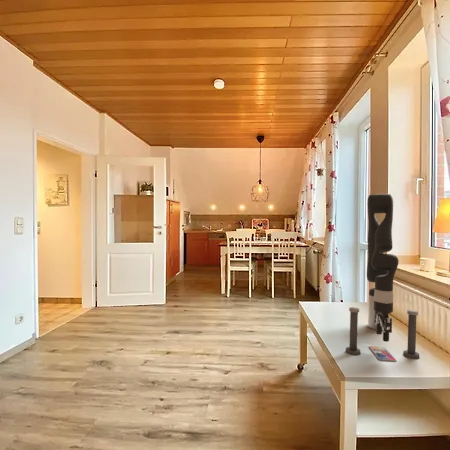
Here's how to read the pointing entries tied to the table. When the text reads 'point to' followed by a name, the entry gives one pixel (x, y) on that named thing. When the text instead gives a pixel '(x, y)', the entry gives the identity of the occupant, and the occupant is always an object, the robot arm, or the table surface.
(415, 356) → the post
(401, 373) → the table surface
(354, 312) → the knob
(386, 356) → the smartphone
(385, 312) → the robot arm
